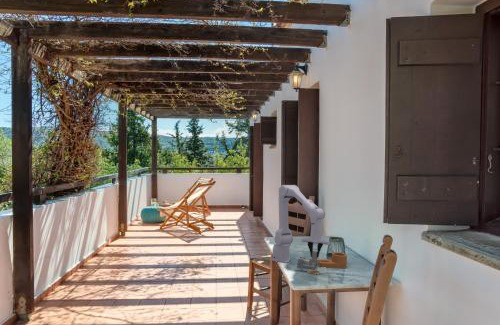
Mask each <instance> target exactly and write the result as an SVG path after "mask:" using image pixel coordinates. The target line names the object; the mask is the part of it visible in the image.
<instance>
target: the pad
mask: <svg viewBox="0 0 500 325" xmlns="http://www.w3.org/2000/svg"><path fill="white" fill-rule="evenodd" d="M320 273H321V270H316V269H308V270H307V271H306V274H311V275H316V274H317V276H319V275H320Z"/></svg>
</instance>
